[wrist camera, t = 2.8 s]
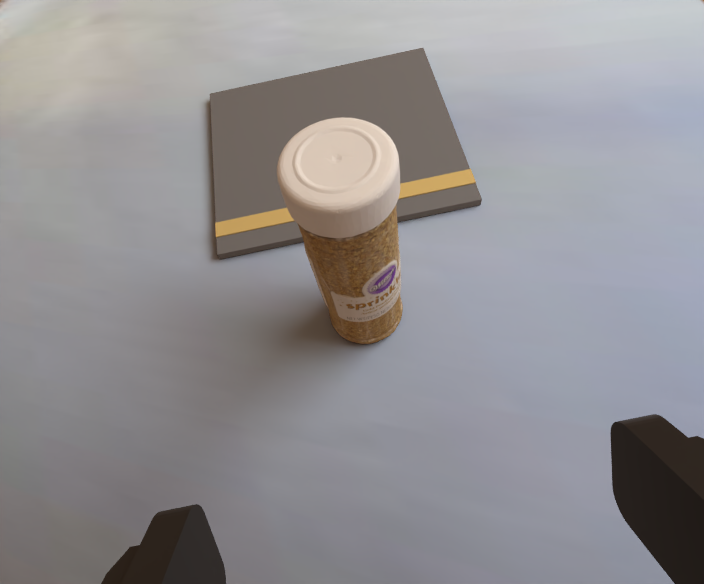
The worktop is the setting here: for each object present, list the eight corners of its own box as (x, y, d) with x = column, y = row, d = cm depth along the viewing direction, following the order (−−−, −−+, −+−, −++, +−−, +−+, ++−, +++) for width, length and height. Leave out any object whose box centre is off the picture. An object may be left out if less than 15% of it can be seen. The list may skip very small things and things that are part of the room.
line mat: (220, 259, 31) (216, 253, 31) (212, 99, 39) (209, 92, 38) (480, 204, 31) (481, 198, 31) (422, 54, 39) (423, 46, 38)
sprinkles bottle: (377, 359, 27) (352, 229, 15) (315, 322, 29) (248, 176, 17) (417, 299, 29) (423, 137, 17) (356, 266, 30) (321, 96, 18)
